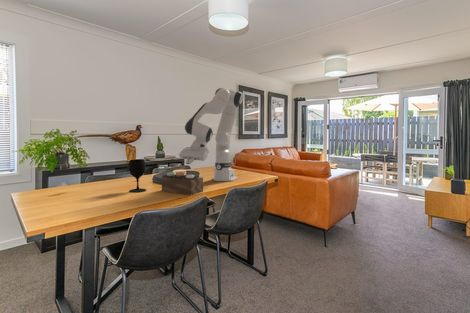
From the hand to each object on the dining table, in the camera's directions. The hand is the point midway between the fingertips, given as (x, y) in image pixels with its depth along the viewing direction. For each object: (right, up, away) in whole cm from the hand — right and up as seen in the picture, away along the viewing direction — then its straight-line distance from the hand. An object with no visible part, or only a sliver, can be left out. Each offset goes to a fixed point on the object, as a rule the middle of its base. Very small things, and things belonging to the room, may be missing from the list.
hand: (188, 163), depth 170 cm
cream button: (+3, -9, -8) cm, 13 cm away
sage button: (-11, -8, -1) cm, 14 cm away
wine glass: (-32, -18, -2) cm, 37 cm away
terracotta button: (-4, -8, -4) cm, 10 cm away
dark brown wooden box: (-3, -18, -2) cm, 18 cm away
